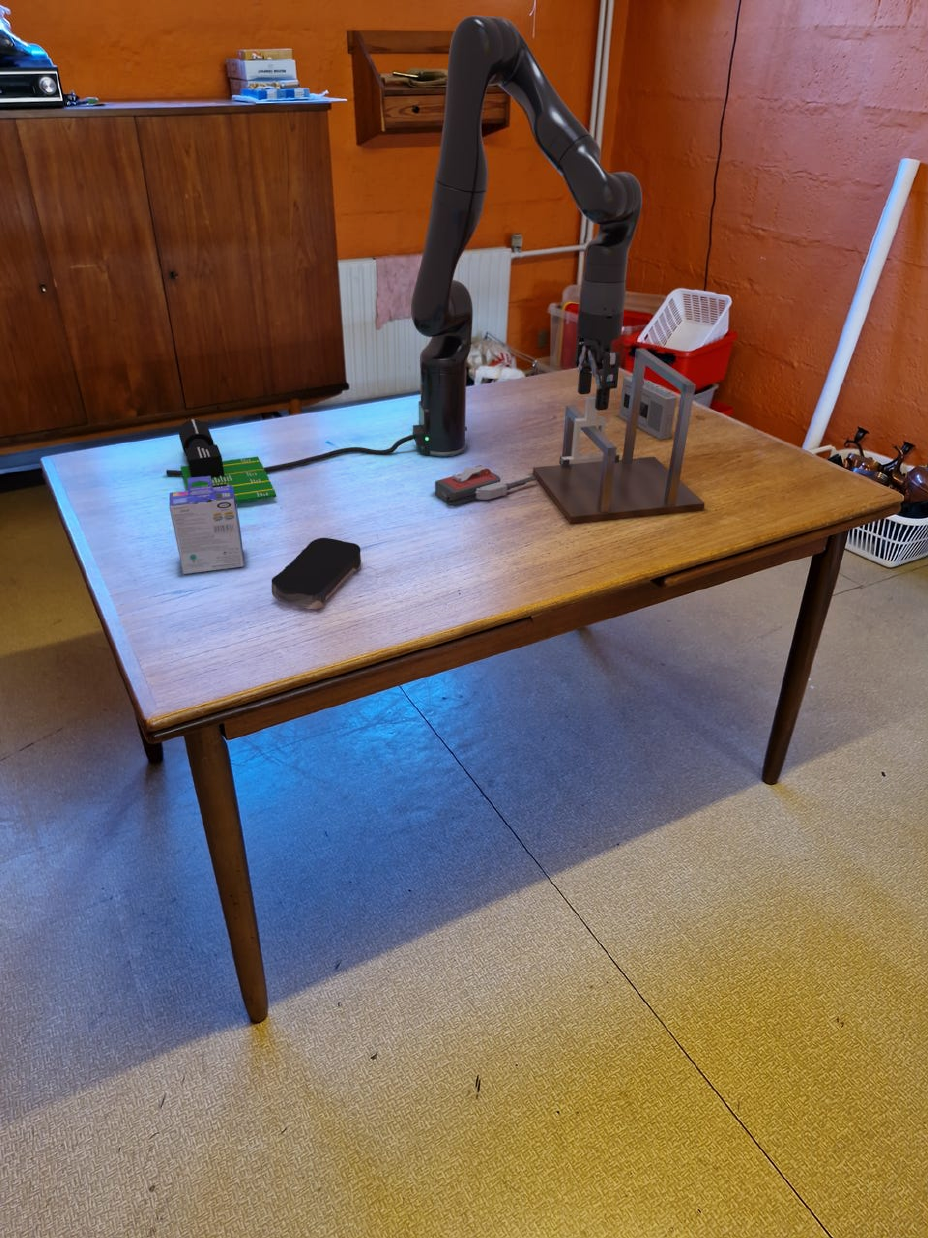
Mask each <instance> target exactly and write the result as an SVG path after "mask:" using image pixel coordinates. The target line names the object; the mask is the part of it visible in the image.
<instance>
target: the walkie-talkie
mask: <svg viewBox="0 0 928 1238" xmlns="http://www.w3.org/2000/svg"><path fill="white" fill-rule="evenodd" d="M501 480H502V479H501V477H500V476H499V475H497V474H496V473H494V472H492V471H491V470H490V469H489V468H488V467H486V466H484V465H483V464H482V465H477V466H475V467H474V466H473V467H469V468H466V469H464V470H463V472H462V473H458V474H456V473H455V474H452V476H448V477H445V478H441V479H438V480H435V482H434V495H435V496H436V497H438V498H440V499H441V500H442V501H444V502H446V504H449V505H451V506H457V505H461V504H464V503H467V502H471V501H473V500H481V501H482V500H485V501H488V500H489V501H490V500H492V499H495V498H498V497H501V496H503V497H504V496H506V495H507V494H508V491H510V490H511V489H515V488H519V487H521V486H525V485H526V484H528V483H530V482H534V481H537V479H536V477H535V476H534V475H533V476H530V477H526V478H523V479H519V480H516V481H513V482H509V483H503V482H502V481H501Z"/></svg>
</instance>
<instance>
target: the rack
mask: <svg viewBox="0 0 928 1238" xmlns="http://www.w3.org/2000/svg"><path fill="white" fill-rule="evenodd" d="M634 355H635V356H634V364H633V370H632V371H633V372H632V376H633V378H632V386H631V394H630V402H629V410H628V418H627V421H626V427H625V434H624V443H623V451H622V458H621V459H619V462H618V463H615V455H616V453H617V446H616V445H615V444H614V443H613V442H612V441H611V440H610V439H609V438H608V437H607V436H606V434H605V435H604V434H603V433H602V432H601V431H600V430H599V429H598V428H599V427H598V426H589V427H581V430H580V431H581V432H583V434H584V435H586V437H587V438H589V440H590V441H591V442H592V443H593V444H594V445H595V446H596V447H597V448H598V449H599V450H600V451H601V453H602V454H603V453H604V454H603V461H600V462H589V463H578V464H569V467H564V468H563V467H562V466H561V465H560V464H557V465H546V466H544V465H543V466H535V467H532V475H533V476H535V477H536V481H537V482H538V483H539V484H540V486H541V487H542V489H543V490H544V491H545V492H546V494H547V495H548V496H549V498H550V499H551V501H552V502H553V503H554V504H555V506H556V507H557V508H558V510H559V511H560V513H561V514H562V515H563V516H564V517H565V520H567V522H568V523H569V524H570V525H574V524H584V523H585V524H586V523H595V522H605V521H614V520H615V521H616V520H621V519H622V520H623V519H631V518H633V519H634V518H642V517H651V516H652V517H653V516H662V515H670V514H671V515H672V514H680V513H689V512H690V513H691V512H700V511H704V510H705V505H706V503H705V501H703V500H702V499H701V498H700V497H699V496H698V495H697V494H695V492H693V490H691V488H689V487H688V486H687V485H686V483H684V482H683V481H681V474H682V468H683V462H684V457H685V450H686V445H687V437H688V434H689V433H688V432H689V426H690V420H691V414H692V409H693V404H694V403H693V402H694V397H695V390H696V384H695V382H692V380H690V379H689V378H687V377H686V376H684V375H683V374H681V373H680V372H678V371H677V370H675V369H674V368H672V367H671V366H670V365H668V364H667V363H666V362H664V361H663V360H661V359H659V357H657V356H655V355H654V354H653V353H651V352H650V351H648V350H647V349H645V348H636V349H635V354H634ZM646 367H647V368H649V369H650V370H652V371H653V372H654V373H656V374H657V375H658V376H660V377H661V378H663V379H664V380H665V381H667V382H668V383H669V384H670V385H672V386H673V387H675V388H676V389H678V391H680V397H679V404H678V410H677V417H676V423H675V429H674V436H673V442H672V448H671V454H670V460H669V466H668V467H666V466H665V465H664V463H662V462H661V461H660V460H659V459H658V458H657V457H656V456H647V457H646V456H645V457H634V455H635V454H634V452H635V445H636V440H637V433H638V431H637V430H638V427H637V424H638V417H639V409H640V402H641V394H642V387H643V379H645V378H644V377H645V370H646ZM577 418H584V414H583V412H582V411H580V409H579V408H577V406H576V405H575V404H570V405H569V404H568V405H565V415H564V426H563V437H562V438H563V439H562V450H561V456H567V457H568V456H571V455H572V444H573V433H574V422H575V419H577Z"/></svg>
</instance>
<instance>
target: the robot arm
mask: <svg viewBox="0 0 928 1238" xmlns="http://www.w3.org/2000/svg"><path fill="white" fill-rule="evenodd" d="M455 27H456V28H455V29H454V31H453V34H452V37H451V40H450V45H449V51H448V59H447V60H448V61H447V74H446V75H447V76H446V89H445V90H446V91H445V106H444V114H443V124H442V130H441V137H440V138H441V139H440V147H439V152H438V153H439V154H438V160H437V166H436V171H435V176H434V183H433V189H432V195H431V205H430V213H429V217H428V225H427V229H426V234H425V241H424V247H423V254H422V257H421V261H420V266H419V269H418V272H417V276H416V281H415V285H414V289H413V293H412V297H411V303H410V315H411V319H412V323H413V325H414V327H415V330H416V331H417V332H418V333H419V334H420V335H422V336H424V337H426V338H430V341H429V342H428V344H427V345H426V347H424V348H423V350H422V351H421V353H420V356H419V370H420V371H419V372H420V373H419V374H420V375H419V376H420V377H419V378H420V400H419V401H418V403H417V404H418V405H417V406H418V424H413V425H412V434H410V435H407V436H405V437H403V438H400V439H399V440H397V441H395V443H394V444H393V445H392V446H391V447H389V448H386V449H373V448H369V447H362V446H351V447H350V446H349V447H343V448H338V449H335V450H332V451H331V450H330V451H328V452H325V453H321V454H316V455H314V456H313V455H312V456H309V457H305V458H302V459H298V460H295V461H294V460H293V461H290V462H285V463H280V464H274V465H271V466H263V468H264V470H265V472H266V473H270V472H276V471H280V470H286V469H289V468H294V467H298V466H301V465H302V466H303V465H305V464H309V463H313V462H317V461H320V460H324V459H328V458H331V457H335V456H337V455H342V454H348V453H364V454H370V455H378V456H385V455H389V454H392V453H394V452H395V451H396V450H397V449H398V447H400V446H401V445H403V444H405V443H408V442H410V441H414V443H415V444H416V446H417V447H420V450H421V452H422V453H423V455H424V456H434V457H452V456H453V457H454V456H457V455H460V454H462V453H464V452H465V451H466V447H467V444H466V432H467V431H468V430H467V429H468V427H467V426H466V416H467V415H466V411H467V410H466V409H467V408H466V407H467V403H466V402H467V360H468V358H469V355H470V352H471V347H472V334H473V316H474V309H473V308H474V307H473V301H472V296H471V294H470V292H469V290H468V288H467V287H466V286H465V285H464V283H462V282H461V281H458V280H456V279H454V278H455V277H454V276H455V274H456V269H457V267H458V264H459V261H460V259H461V257H462V255H463V253H464V252H465V250H466V248H467V247H468V246H469V245H468V244H469V243H470V241H471V239H472V238H473V235H474V234H475V232H476V231H477V228H478V226H479V224H480V221H481V220H482V219H481V218H482V216H483V212H484V206H485V201H486V197H487V192H488V185H489V178H490V177H489V174H490V173H489V165H488V159H487V154H486V149H485V144H484V139H483V133H482V132H483V131H482V119H483V111H484V106H485V102H486V101H485V99H486V95H487V90H488V87H489V86H490V87H492V86H498V87H500V88H501V89H502V90H503V91H504V92H506V93H507V94H508V95H509V96H510V97H511V98H512V99H513V100H514V101H515V102H516V103H517V104H518V106H519V107H520V108H521V110H522V111H523V113H524V115H525V117H526V120H527V123H528V126H529V128H530V129H529V130H530V132H531V134H532V138H533V140H534V141H535V144H536V145H537V148H539V150H540V151H541V153H542V154H543V155H544V157H545V158H546V159H547V161H548V162H549V163H550V165H551V166H552V167H553V168H554V169H555V170H556V171H557V173H558V174H559V175H560V176H561V177H562V178H563V180H564V182H565V185H566V186H567V189H568V191H569V193H570V195H571V197H572V199H573V201H574V203H575V204H576V207H577V209H578V210H579V212H580V213H581V214H582V216H584V217H585V218H586V219H587V220H588V221H590V222H591V223H592V224H595V225H598V228H597V232H596V234H595V236H594V238H592V239H591V240H590V241H589V242H588V243H587V244H586V246H585V250H584V259H583V270H582V271H583V272H582V281H581V286H580V290H579V300H578V312H577V313H578V314H577V327H576V333H577V334H576V336H577V337H576V345H575V353H574V354H575V355H574V366H575V367H577V373H579V374H578V384H577V392H578V394H579V395H589V394H590V393H591V391H592V390H591V389H592V382H593V381H592V380H593V378H595V384H596V390H595V391H596V392H595V396H596V400H595V409H596V410H598V412H599V411H608V409H609V404H610V395H611V389H614V390H615V389H617V388H618V384H619V383H618V382H619V370H620V369H619V368H620V359H621V354H620V352H619V351H618V352H617V351H616V352H615V351H613V348H612V347H613V346H612V345H613V344H612V342H614V340H617V339H619V338H620V337H621V336H622V331H623V321H624V312H625V303H626V294H627V292H626V291H627V290H626V281H627V270H628V260H629V251H630V248H631V246H632V243H633V240H634V237H635V234H636V230H637V227H638V223H639V220H640V216H641V213H642V207H643V193H642V191H643V190H642V187H641V183H640V181H639V180H638V178H637V177H636V176H635V175H633V174H632V173H630V172H628V171H617V172H611V173H608V172H607V171H606V170H605V169H604V168H603V166H602V164H601V163H600V161H601V158H602V151H601V148H600V146H599V144H598V142H597V141H596V139H595V138H594V137H593V136H592V135H591V134H590V132H589V131H588V130H587V128H585V126H584V125H583V124H582V123H581V122H580V120H579V119H578V118H577V117H576V116H575V115H574V114H573V112H572V111H571V110H570V108H569V107H568V106H567V104H566V103H565V102H564V100H562V98H561V96H559V94H558V93H557V91H556V89H555V88H554V87H553V85H552V83H551V81H550V80H549V79H548V77H547V76H546V74H545V73H544V70H543V69H542V68H541V66H540V64H539V62H538V61H537V59H536V57H535V56H534V54H533V52H532V50H531V49H530V47H529V45H528V42H526V40H525V39H524V37H523V35H522V33H521V32H520V31H519V29H518V28H517V27H516V25H515V24H514V23H513V22H512V21H511V20H509V19H507V18H504V17H499V16H488V15H469V16H466V17H465V18H463V19H462V20H460V22H459V23H458V24H457V26H455ZM417 447H416V448H417ZM166 476H176V477H177V476H178V477H180V476H181V477H183V475H182V472H181V470H177V469H174V470H173V469H166Z"/></svg>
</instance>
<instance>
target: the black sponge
mask: <svg viewBox="0 0 928 1238" xmlns="http://www.w3.org/2000/svg"><path fill="white" fill-rule="evenodd" d="M361 550H362V549H361V547H360V546H359V544H357V543H354V542H348V541H343V540H341V539H336V538H330V537H319V538H316V539H313V540H312V541H311V542H310V543H308V544H307V545H306V547H305V548H303V550H301V552H300V553H299V554H298V555H296V557H295V558H294V559H293V560H291V562H289V563H288V564H287V565H286V566H285V567H284V569H282V571H280V572H279V573H277V574H276V575H275V576H273V577H272V578H271V594H272V596H273V598H275V599H277V600H279V601H281V602H283V603H288V604H292V605H294V606H299V607H301V608H305V609H309V610H318V609H321V608H323V607H324V606H325V603H326V602H327V601H328V600H329V598H330V597H331V596H332V595H333V594H335V592H336V591H337V589H339V587H340V586H341V585H342V584H343V583H344V582H345V581H346V580H347V579H348V577H350V576H351V575H352V574H353V573H354V572H355V571H357V570H358V569H359V567H360V566H361V563H362V558H361V557H362V556H361Z"/></svg>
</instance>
